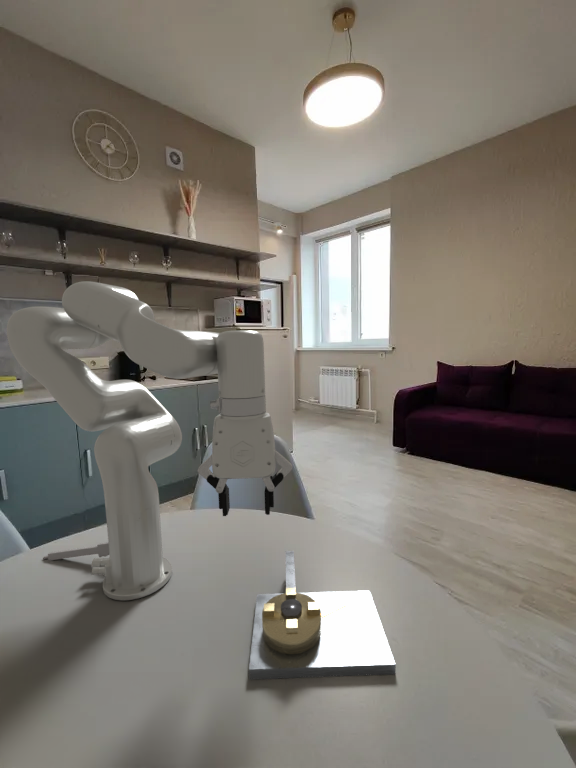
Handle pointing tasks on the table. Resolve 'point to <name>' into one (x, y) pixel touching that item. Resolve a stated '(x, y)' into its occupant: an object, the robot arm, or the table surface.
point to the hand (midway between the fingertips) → (247, 510)
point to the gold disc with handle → (291, 617)
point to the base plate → (328, 641)
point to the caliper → (80, 552)
